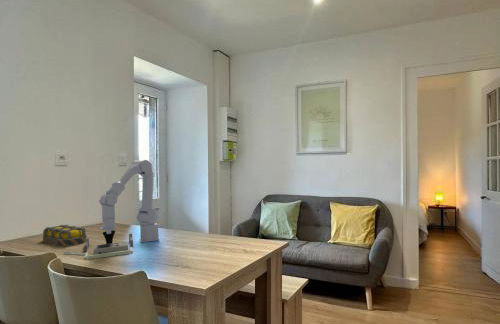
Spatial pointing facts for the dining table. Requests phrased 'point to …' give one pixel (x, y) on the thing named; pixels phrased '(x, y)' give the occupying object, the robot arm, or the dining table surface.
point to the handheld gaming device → (110, 248)
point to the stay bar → (74, 253)
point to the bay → (108, 254)
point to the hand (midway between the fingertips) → (109, 246)
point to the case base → (88, 242)
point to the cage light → (64, 235)
